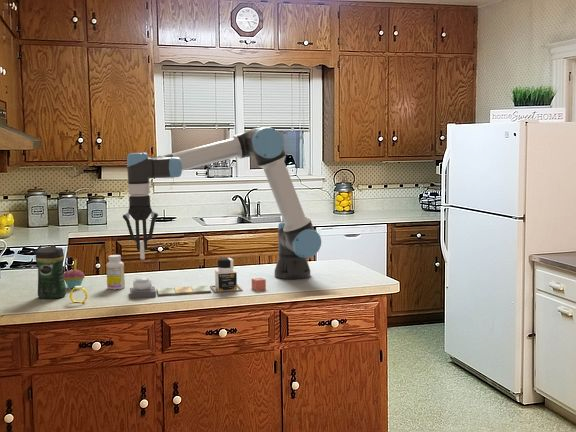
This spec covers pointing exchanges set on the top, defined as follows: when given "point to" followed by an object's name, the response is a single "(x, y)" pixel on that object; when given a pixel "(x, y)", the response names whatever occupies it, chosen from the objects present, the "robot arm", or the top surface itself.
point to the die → (258, 284)
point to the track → (183, 290)
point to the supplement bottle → (115, 272)
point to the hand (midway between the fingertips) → (142, 258)
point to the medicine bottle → (225, 275)
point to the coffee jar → (50, 272)
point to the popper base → (142, 293)
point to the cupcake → (73, 277)
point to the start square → (225, 291)
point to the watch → (81, 289)
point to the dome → (142, 284)
